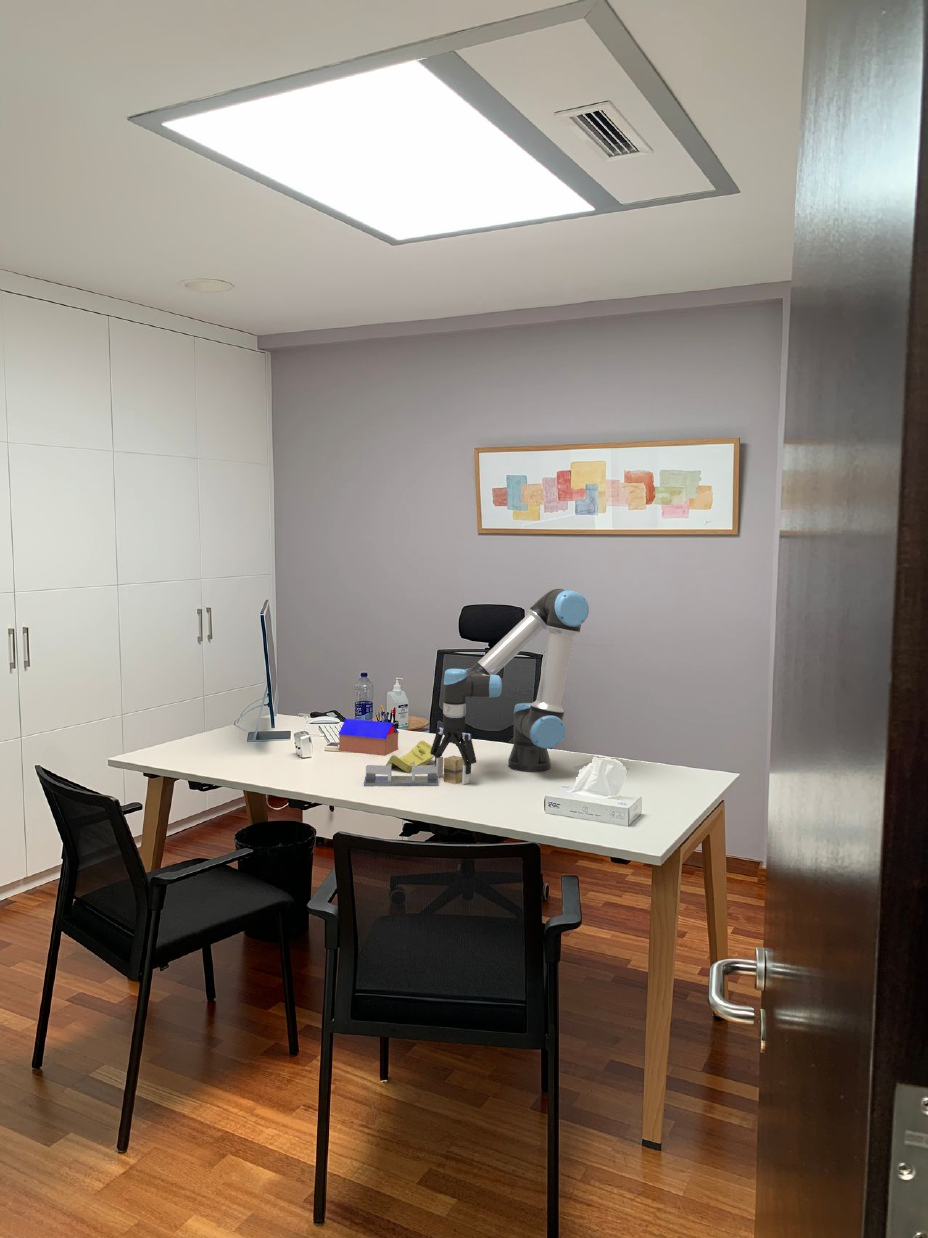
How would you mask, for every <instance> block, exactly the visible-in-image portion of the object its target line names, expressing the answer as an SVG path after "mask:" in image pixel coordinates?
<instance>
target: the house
mask: <svg viewBox="0 0 928 1238" xmlns="http://www.w3.org/2000/svg"><path fill="white" fill-rule="evenodd" d="M399 734H400V732H399V731H398V729H397V727H396V726H395V724H394V723H393V722H388V721H387V722H386V721H378V720H377V721H375V720H364V719H357V718H356V719H355V718H345V720H344V722H343V724H342V726H341V727H340V730H339V732H338V735H339V737H338V738H339V739H338V745H339V747H338V751H339V752H348V753H353V754H355V753H356V754H364V755H372V756H373V755H375V756H383V757H385V756H387V755H390V754H392V753H394V752H395V751H398V750H399Z"/></svg>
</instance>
